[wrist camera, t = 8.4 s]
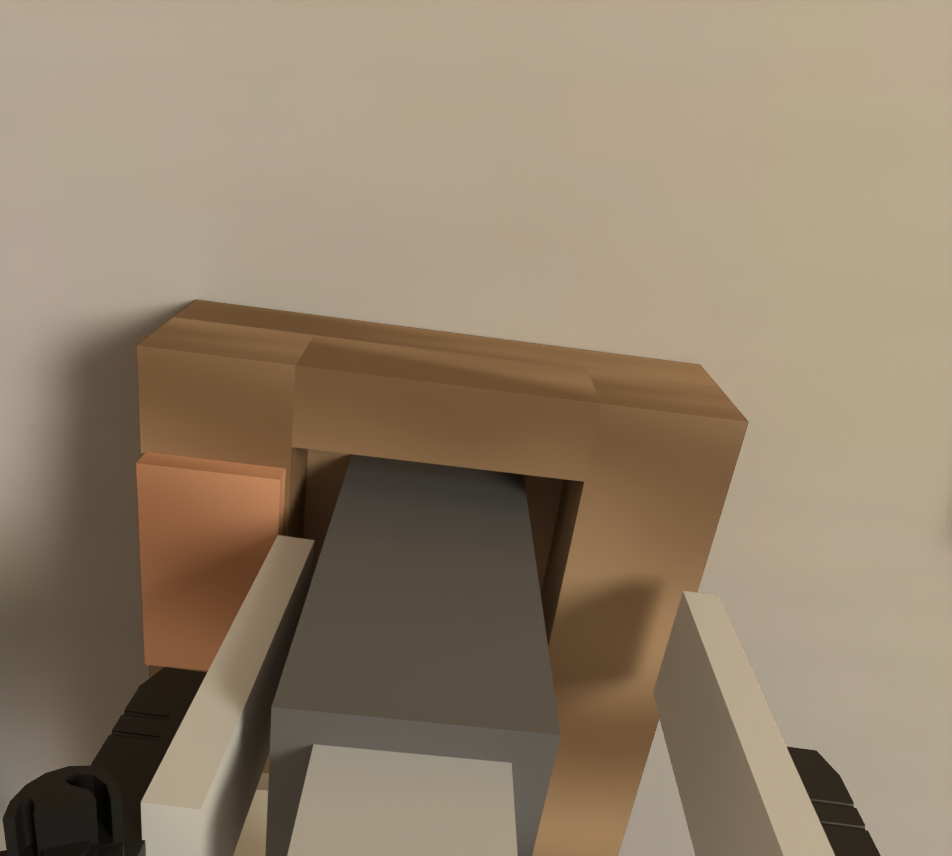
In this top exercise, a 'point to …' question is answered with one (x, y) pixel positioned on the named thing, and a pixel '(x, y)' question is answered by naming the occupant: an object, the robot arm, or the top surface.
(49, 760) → the top surface
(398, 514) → the plug
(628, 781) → the socket board
